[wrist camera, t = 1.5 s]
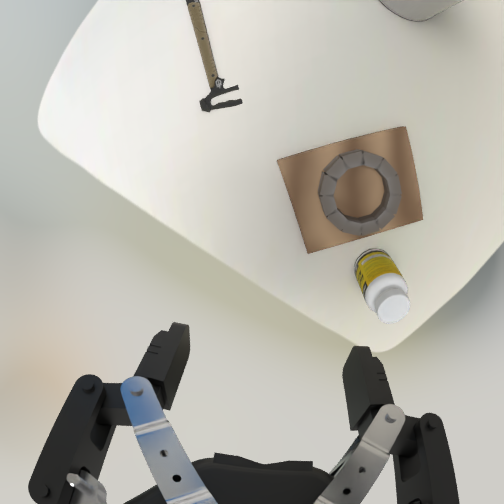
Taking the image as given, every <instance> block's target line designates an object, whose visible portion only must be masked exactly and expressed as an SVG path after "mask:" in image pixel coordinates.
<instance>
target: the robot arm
mask: <svg viewBox="0 0 504 504" xmlns="http://www.w3.org/2000/svg"><path fill="white" fill-rule="evenodd" d="M380 1H381V2H382V3H383V4H384V5H385V6H386V7H387V8H388V9H389V10H391V11H392V12H394V13H395V14H397V15H399V16H401V17H403V18H406V19H409V20H413V21H424V20H428V19H429V18H431V17H433V16H435V15H436V14H438V13H440V12H442V11H444V10H446V9H448V8H450V7H452V6H453V5H455V4H457V3H459V2H461V1H463V0H380ZM189 336H190V335H189V325H186V324H181V323H176V322H174V323H172V325H171V327H170V329H169V331H168V332H167V331H162V330H161V331H160V332H159V333H158V334H156V335H155V336H154V337H153V339H152V341H151V343H150V346H149V347H148V349H147V352H146V353H145V355H144V357H143V359H142V361H141V362H140V364H139V367H138V369H137V370H136V372H135V374H134V376H133V377H130V378H128V379H126V380H125V381H124V382H123V383H102V381H101V379H100V378H99V377H97V376H95V375H84V376H82V377H80V378H79V379H78V380H77V381H76V382H75V384H74V386H73V388H72V390H71V392H70V394H69V396H68V398H67V400H66V402H65V403H64V405H63V407H62V409H61V411H60V413H59V415H58V417H57V419H56V421H55V423H54V426H53V428H52V430H51V432H50V434H49V437H48V438H47V441H46V443H45V445H44V447H43V450H42V452H41V454H40V457H39V459H38V461H37V464H36V466H35V469H34V471H33V474H32V476H31V479H30V481H29V485H28V489H29V493H30V496H31V498H32V499H33V500H34V501H35V502H36V503H37V504H107V503H106V490H105V488H104V486H103V485H102V484H101V483H100V482H99V481H98V478H99V475H100V472H101V469H102V466H103V463H104V459H105V457H106V453H107V451H108V448H109V445H110V442H111V439H112V436H113V434H114V431H115V428H116V425H122V426H133V428H134V433H135V436H136V438H137V441H138V443H139V446H140V448H141V450H142V453H143V455H144V457H145V460H146V462H147V464H148V466H149V468H150V471H151V473H152V475H153V477H154V479H155V481H156V483H157V485H155V486H153V487H152V488H150V489H148V490H147V491H145V492H143V493H142V494H140V495H138V496H137V497H135V498H133V499H131V500H129V501H127V502H126V503H124V504H360V503H361V502H362V500H363V499H364V497H365V496H366V495H367V493H368V492H369V490H370V488H371V487H372V486H373V484H374V482H375V481H376V479H377V478H378V476H379V474H380V473H381V471H382V469H383V468H384V466H385V464H386V462H387V461H388V459H389V457H390V454H393V461H394V469H395V480H396V492H397V504H459V497H458V491H457V484H456V479H455V473H454V468H453V463H452V458H451V454H450V449H449V445H448V441H447V437H446V433H445V429H444V426H443V422H442V420H441V419H440V417H439V416H437V415H436V414H433V413H426V414H424V415H423V416H422V417H421V418H415V417H410V416H406V415H405V414H404V412H403V411H402V409H401V408H400V407H398V406H396V405H395V404H394V401H393V397H392V394H391V390H390V387H389V383H388V381H387V377H386V374H385V370H384V367H383V364H382V363H381V362H380V360H379V359H378V358H377V357H372V354H371V350H370V348H369V347H367V346H354V347H353V348H352V350H351V352H350V355H349V357H348V359H347V361H346V363H345V365H344V368H343V375H342V376H343V383H344V389H345V395H346V402H347V409H348V415H349V423H350V430H352V431H354V430H358V432H359V435H358V437H357V438H356V439H355V441H354V442H353V444H352V445H351V446H350V448H349V449H348V451H347V452H346V453H345V455H344V456H343V457H342V459H341V460H340V461H339V462H338V464H337V465H336V466H335V467H334V468H333V470H332V471H331V472H330V473H329V474H328V473H327V472H325V471H323V470H321V469H318V468H315V467H313V462H312V461H285V462H279V463H272V464H260V463H257V462H254V461H251V460H248V459H245V458H242V457H239V456H233V455H227V454H220V453H215V454H214V458H205V459H200V460H197V461H194V462H190V460H189V458H188V456H187V454H186V453H185V451H184V449H183V447H182V445H181V443H180V441H179V440H178V438H177V436H176V434H175V432H174V430H173V428H172V426H171V424H170V422H169V421H168V420H167V419H166V417H165V414H164V412H163V409H166V410H170V409H171V406H172V403H173V400H174V397H175V395H176V392H177V389H178V386H179V383H180V380H181V377H182V375H183V372H184V369H185V366H186V363H187V361H188V358H189V353H190V337H189Z"/></svg>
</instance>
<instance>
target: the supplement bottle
mask: <svg viewBox="0 0 504 504" xmlns="http://www.w3.org/2000/svg"><path fill="white" fill-rule="evenodd" d="M355 275H356V278H357V280H358V283H359V285H360V288H361V291H362V293H363V296H364V298H365V301H366V303H367V305H368V307H369V308H370V309H371V310H372V311H374V312H376V313H377V316H378V318H379V319H380V320H381V321H382V322H384V323H388V324H389V323H395V322H398V321H400V320H401V319H402V318H404V317H405V316H406V314H407V313H408V311H409V309H410V300H409V298H408V296H407V294H408V287H407V284H406V281H405V280H404V278H403V276H402V275H401V273H400V272H399V270H398V268H397V267H396V265H395V264H394V262H393V261H392V259H391V258H390V256H389V255H388V254H387V253H386V252H385V251H383V250H380V249H371V250H368V251H366V252H364V253H363V254H362V255H361V256H360V257H359V258H358V259H357V261H356V264H355Z"/></svg>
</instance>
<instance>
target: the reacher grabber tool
mask: <svg viewBox="0 0 504 504" xmlns="http://www.w3.org/2000/svg"><path fill="white" fill-rule="evenodd" d="M186 2H187V6H188V10H189V14H190V16H191V20H192V24H193V27H194V31H195V35H196V38H197V42H198V46H199V49H200V53H201V57H202V60H203V64H204V67H205V71H206V75H207V78H208V82H209V86H210V89H211V92H210V94H209V95H208V96H207V97H206V98H205V99H204V98H203V99H202V100H201V101H200V105H201V109H202V111H207V112H210V110H211V109H219V108H225V107H232V106H236V105H239V104H242V99H238V100H229V101H226V102H222V103H218V104H216V105H211V103H210V101H211V98H213V97H215V96H218V95H221V94H224V93H227V92H230V91H234V90H239V87H238V85H236V86H233V87H230V88H227V89H224V88H223V83H224V79H221V78H219V77H218V75H217V71H216V68H215V64H214V60H213V57H212V51H211V47H210V43H209V39H208V35H207V31H206V26H205V23H204V19H203V15H202V11H201V7H200V2H199V0H186Z"/></svg>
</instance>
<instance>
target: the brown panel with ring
mask: <svg viewBox="0 0 504 504" xmlns="http://www.w3.org/2000/svg"><path fill="white" fill-rule="evenodd" d="M277 162H278V165H279V168H280V171H281V174H282V176H283V179H284V182H285V185H286V188H287V191H288V194H289V197H290V200H291V203H292V206H293V209H294V212H295V215H296V218H297V221H298V224H299V227H300V230H301V233H302V237H303V240H304V243H305V246H306V249H307V253H308V254H309V253H313V252H316V251H319V250H323V249H326V248H330V247H333V246H337V245H340V244H344V243H347V242H350V241H354V240H357V239H361V238H364V237H367V236H371V235H374V234H377V233H381V232H384V231H387V230H391V229H394V228H397V227H401V226H404V225H407V224H410V223H414V222H417V221H420V220H423V215H422V207H421V200H420V193H419V187H418V181H417V175H416V170H415V165H414V160H413V155H412V151H411V146H410V142H409V138H408V134H407V130H406V127H403V126H402V127H397V128H393V129H388V130H384V131H380V132H375V133H371V134H367V135H363V136H359V137H355V138H351V139H347V140H344V141H340V142H336V143H333V144H329V145H325V146H322V147H318V148H315V149H311V150H308V151H305V152H301V153H298V154H295V155H292V156H288V157H285V158H282V159H279V160H277Z"/></svg>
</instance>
